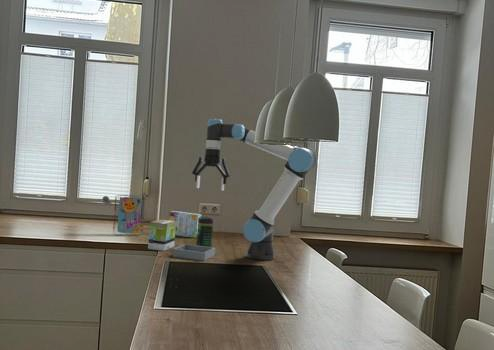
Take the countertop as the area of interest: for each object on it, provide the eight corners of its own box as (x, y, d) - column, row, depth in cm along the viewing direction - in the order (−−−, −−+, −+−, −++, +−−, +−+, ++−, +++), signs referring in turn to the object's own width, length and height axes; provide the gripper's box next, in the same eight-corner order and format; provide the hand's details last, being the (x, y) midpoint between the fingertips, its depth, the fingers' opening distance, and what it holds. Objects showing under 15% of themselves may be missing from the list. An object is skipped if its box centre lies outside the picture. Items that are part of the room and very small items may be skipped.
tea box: (165, 251, 273) (167, 223, 272) (147, 249, 275) (149, 221, 274) (174, 246, 287) (176, 220, 287) (157, 244, 289) (159, 218, 289)
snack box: (200, 237, 327) (202, 214, 327) (195, 238, 322) (197, 214, 322) (172, 233, 336) (173, 210, 336) (167, 234, 331) (169, 210, 330)
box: (100, 235, 305) (103, 194, 304) (99, 234, 311) (101, 193, 310) (142, 236, 315) (145, 196, 314) (140, 234, 320) (143, 195, 320)
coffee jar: (212, 251, 282) (215, 217, 282) (198, 251, 280) (201, 217, 279) (208, 248, 291) (210, 215, 291) (194, 247, 289) (197, 215, 288)
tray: (215, 255, 272) (215, 247, 272) (204, 260, 255) (204, 252, 255) (185, 251, 276) (185, 244, 276) (172, 256, 259) (173, 248, 259)
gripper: (237, 150, 268) (234, 191, 269) (193, 147, 274) (190, 187, 275) (233, 150, 261) (230, 191, 262) (187, 146, 267) (185, 187, 268)
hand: (210, 189), depth 268 cm, fingers open, 13 cm apart
